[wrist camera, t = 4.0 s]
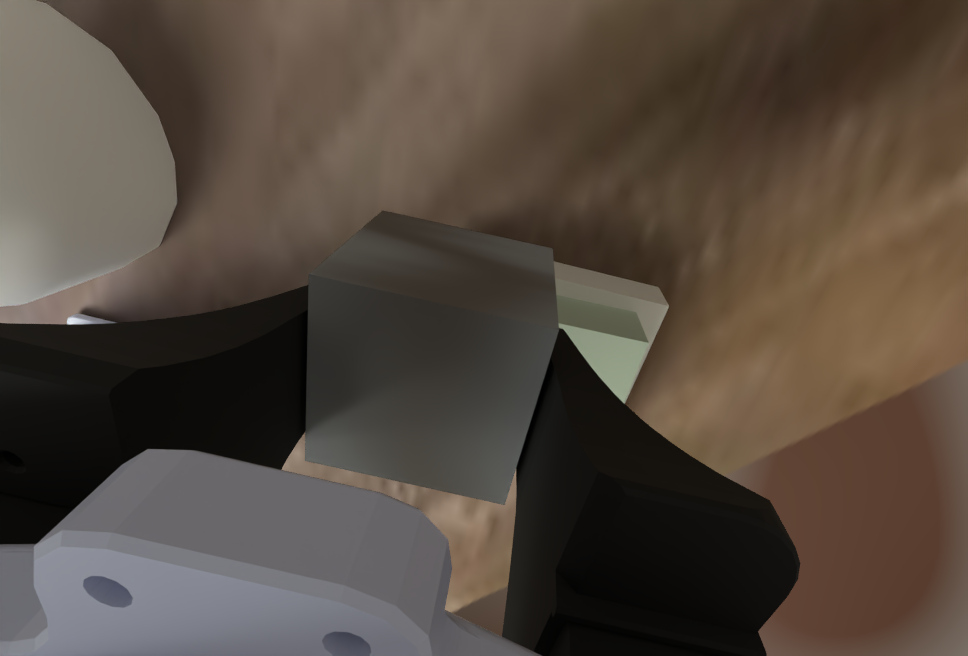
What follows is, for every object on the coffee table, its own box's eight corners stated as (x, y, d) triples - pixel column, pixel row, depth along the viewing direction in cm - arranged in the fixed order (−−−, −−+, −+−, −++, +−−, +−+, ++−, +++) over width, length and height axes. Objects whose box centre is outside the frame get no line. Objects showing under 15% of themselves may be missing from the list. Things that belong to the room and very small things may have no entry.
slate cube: (368, 355, 14) (304, 460, 11) (382, 210, 12) (308, 274, 8) (514, 388, 14) (504, 504, 11) (552, 248, 12) (559, 329, 8)
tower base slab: (423, 395, 25) (412, 426, 23) (454, 232, 21) (444, 251, 19) (589, 435, 25) (594, 470, 23) (655, 281, 21) (669, 306, 19)
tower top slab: (438, 412, 22) (427, 448, 20) (463, 274, 19) (453, 300, 17) (585, 444, 22) (590, 484, 20) (636, 312, 19) (649, 342, 17)
